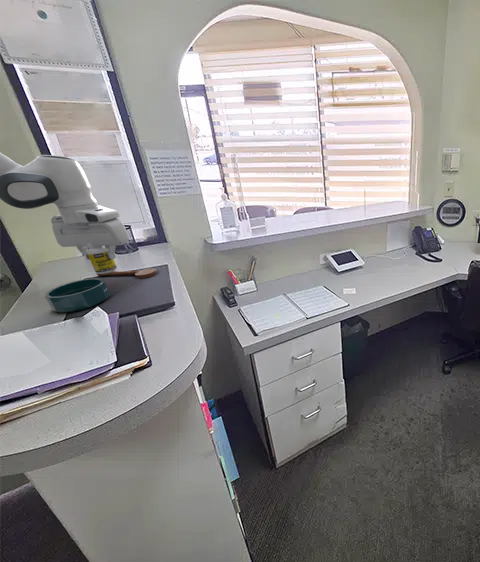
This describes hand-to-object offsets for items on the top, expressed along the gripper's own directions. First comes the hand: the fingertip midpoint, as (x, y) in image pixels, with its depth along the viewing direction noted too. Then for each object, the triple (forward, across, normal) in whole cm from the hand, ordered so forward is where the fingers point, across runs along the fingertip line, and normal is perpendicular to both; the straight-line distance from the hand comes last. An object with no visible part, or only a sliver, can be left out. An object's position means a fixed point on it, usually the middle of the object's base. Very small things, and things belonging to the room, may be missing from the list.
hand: (101, 258), depth 96 cm
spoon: (+9, -2, +8) cm, 12 cm away
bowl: (+9, +1, -12) cm, 15 cm away
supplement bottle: (+4, 0, 0) cm, 4 cm away
